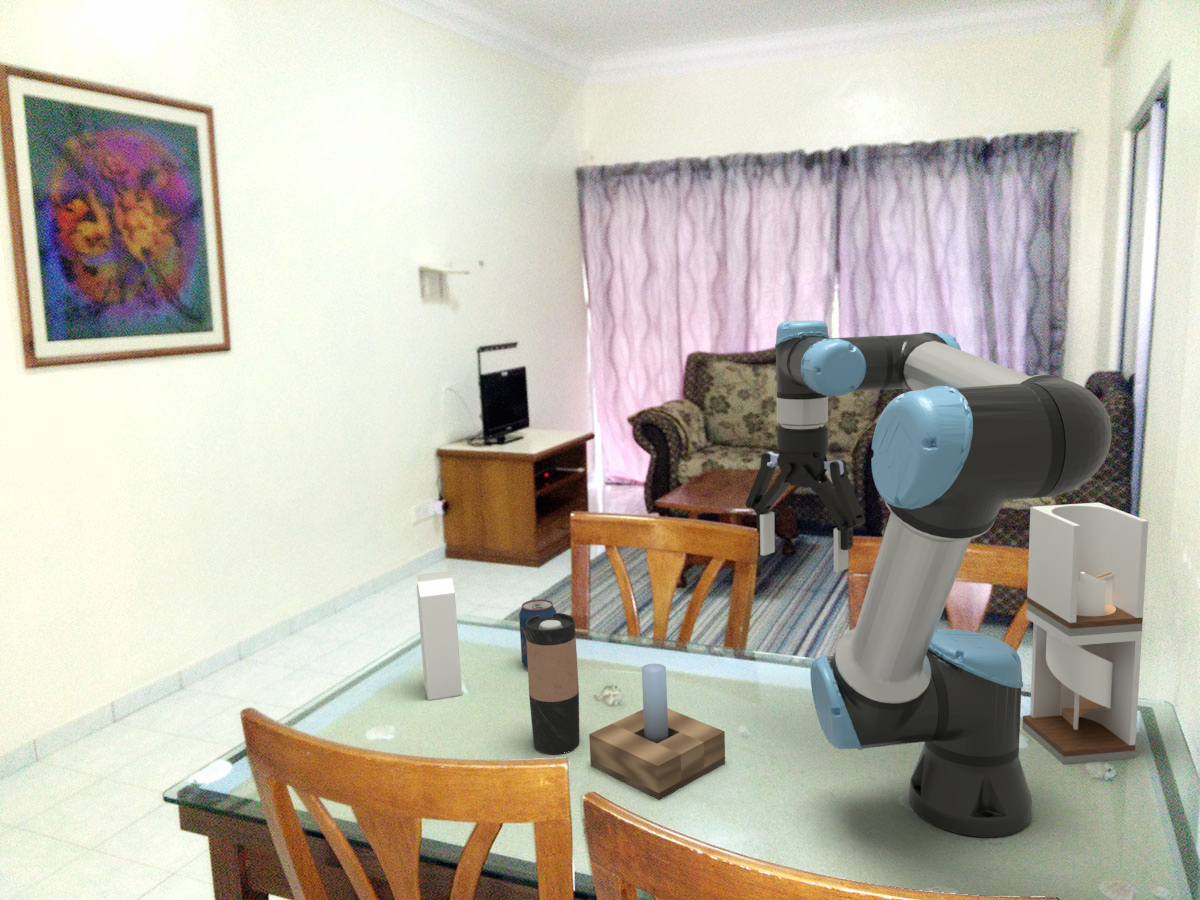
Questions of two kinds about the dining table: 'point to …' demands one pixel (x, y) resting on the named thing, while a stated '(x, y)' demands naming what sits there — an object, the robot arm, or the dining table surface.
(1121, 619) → the spiral staircase model
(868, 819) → the dining table surface
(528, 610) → the soda can
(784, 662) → the dining table surface
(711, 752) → the bore block
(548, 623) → the travel mug
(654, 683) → the pin
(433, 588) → the milk
